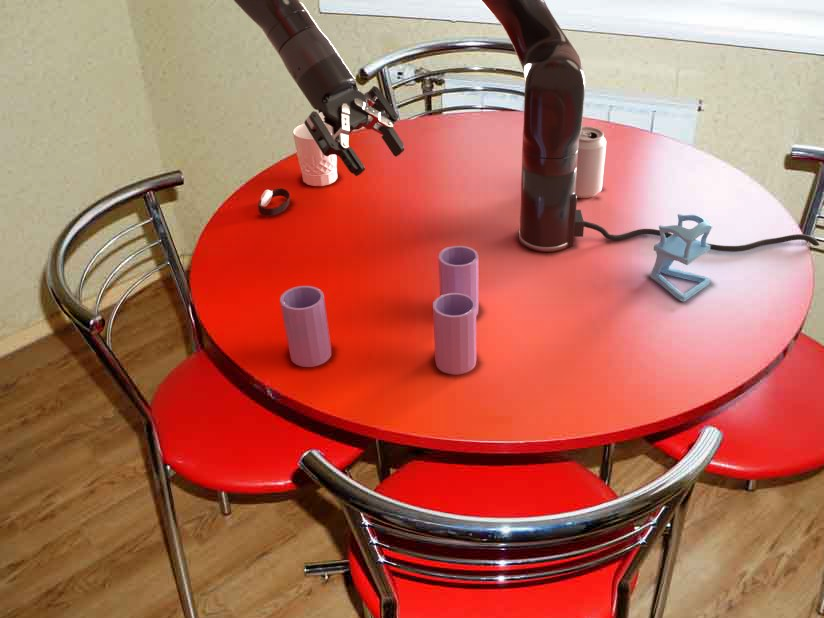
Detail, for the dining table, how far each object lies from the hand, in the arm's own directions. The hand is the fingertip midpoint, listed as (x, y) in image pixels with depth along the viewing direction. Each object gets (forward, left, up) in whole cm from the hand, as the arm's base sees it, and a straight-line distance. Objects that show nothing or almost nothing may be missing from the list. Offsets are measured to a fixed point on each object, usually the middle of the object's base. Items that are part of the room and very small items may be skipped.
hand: (381, 162), depth 127 cm
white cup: (+15, -37, -21) cm, 45 cm away
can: (-36, -30, -21) cm, 51 cm away
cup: (-10, +22, -21) cm, 32 cm away
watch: (+22, -25, -21) cm, 39 cm away
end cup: (+11, +20, -21) cm, 30 cm away
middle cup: (-11, +9, -21) cm, 25 cm away
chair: (-47, +3, -21) cm, 51 cm away
